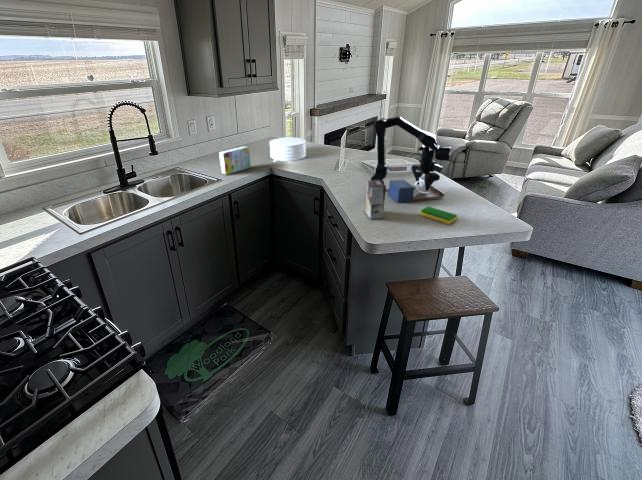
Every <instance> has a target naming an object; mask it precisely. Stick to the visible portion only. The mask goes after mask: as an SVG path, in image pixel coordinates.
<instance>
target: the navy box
mask: <svg viewBox="0 0 642 480" xmlns="http://www.w3.org/2000/svg"><path fill="white" fill-rule="evenodd" d="M415 189H416V191H418V192H420V187H419V188H415ZM416 191H415V190H414V186H413V185H412V184H410V183H409V182H408V181H406V180H405V179H396V180H395V179H394V180H389V185H388V195H389V197H391V198H392V200H394V201H395V202H396V203H397V204H401V203H413V201H424V200H436V199H437V200H438V199H443V198H444V197H445V195H446V193H445V192H444V191H442V190H440V189H438V188H437V187H436V186H434V185H433V184H432V185H431V188H430V190H429V191H428V192H429V193H428V194H422V193H418V192H416Z"/></svg>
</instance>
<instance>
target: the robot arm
mask: <svg viewBox="0 0 642 480" xmlns="http://www.w3.org/2000/svg"><path fill="white" fill-rule="evenodd" d="M396 126H397V127H399V128H400V129H402V130H404V131H406V133H409V134H410V135H412V136H413V137H414V138H416V139H417V140H418V141H419V142H420V143H421V144H422V145H421V146H420V147H418V149H417V151H420V152H421V156H420V159H418V163H419V164H413V165H412V166H411V167H410V170H411V172H412V174H413V177H414V179H415V183H416V182H417V181H419V177H422V176H423V175H424V176H425V179H424V182H425V188H426V191H428V190H429V189H430V187H431V185H433V184H434V183H435V182H437V181H440V178H441V175H439V174H441V173H442V170H443V168H444V167H443V166H441V165H439V164H438V162H437V161H442V162H449V161H450V157H451V147H450V146H447V147H446V146H445V147H444V146H440V145H439V143H438V142H437V137H436V135H435V134H434V133H431V132H429V131H426V130H422V129H420V128H419V127H417V126H416V125H414V124H412V123H411V122H409V121H407V120H406V119H404V118H403V117H402V116H399V115H398V116H394V117H389V118H384V117H382V118H379V119H378V120H376V121H375V123H374V132H375V135H376V137H377V143H376V145H377V164H376V168H375V172H374V173H373V174H372V176H371V178H370V181H371V180H380V181H381V182H382V183H383V184H384V185H385V178H386V177H387V175H388V174H389V172H390V163H388V164H387V160H386V158H387V157H386V150H387V149H386V135H387V132H388V128H392V127H396ZM434 159H435V160H436V161H434ZM416 186H419V182H418V183H417V184H416Z"/></svg>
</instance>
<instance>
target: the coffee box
mask: <svg viewBox="0 0 642 480" xmlns="http://www.w3.org/2000/svg"><path fill="white" fill-rule="evenodd" d="M386 190H387V185H385V183H384V184H383V183H382V182H381V181H380V180H371V179H370V180H366V190H365V191H366V192H365V207H364V212H365V213H366V215H367V216H368V218H369V219H370V220H376V219H383V218H384V211H385V199H386Z"/></svg>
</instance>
